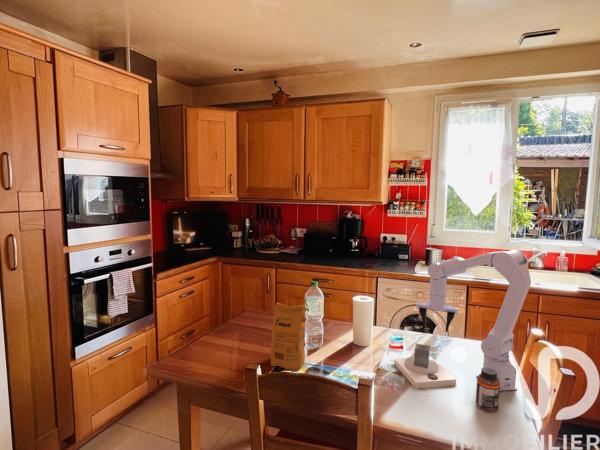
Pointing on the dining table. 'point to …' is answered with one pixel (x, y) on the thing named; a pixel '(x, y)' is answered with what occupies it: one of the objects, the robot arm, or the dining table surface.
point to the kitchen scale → (424, 373)
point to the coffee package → (288, 337)
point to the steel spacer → (421, 355)
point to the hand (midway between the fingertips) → (435, 329)
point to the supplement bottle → (488, 390)
